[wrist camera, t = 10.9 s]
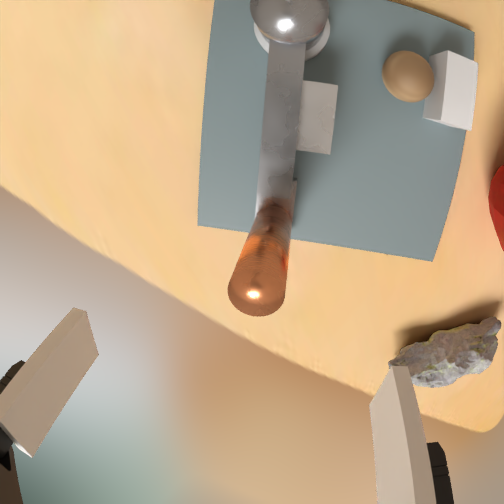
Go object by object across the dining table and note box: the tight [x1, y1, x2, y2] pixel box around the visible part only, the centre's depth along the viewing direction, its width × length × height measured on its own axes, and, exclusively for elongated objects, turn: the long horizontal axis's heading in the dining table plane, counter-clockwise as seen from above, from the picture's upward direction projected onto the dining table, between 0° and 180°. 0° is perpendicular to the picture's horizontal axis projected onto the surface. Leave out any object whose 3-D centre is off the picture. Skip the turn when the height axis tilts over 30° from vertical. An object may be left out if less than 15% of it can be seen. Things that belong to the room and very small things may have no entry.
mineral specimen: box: [388, 317, 501, 388], centre depth 31 cm, size 16×7×7 cm, turn 108°
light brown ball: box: [382, 51, 434, 102], centre depth 20 cm, size 4×4×4 cm
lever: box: [228, 0, 338, 316], centre depth 19 cm, size 21×6×12 cm, turn 176°
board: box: [198, 0, 478, 261], centre depth 23 cm, size 24×24×5 cm
